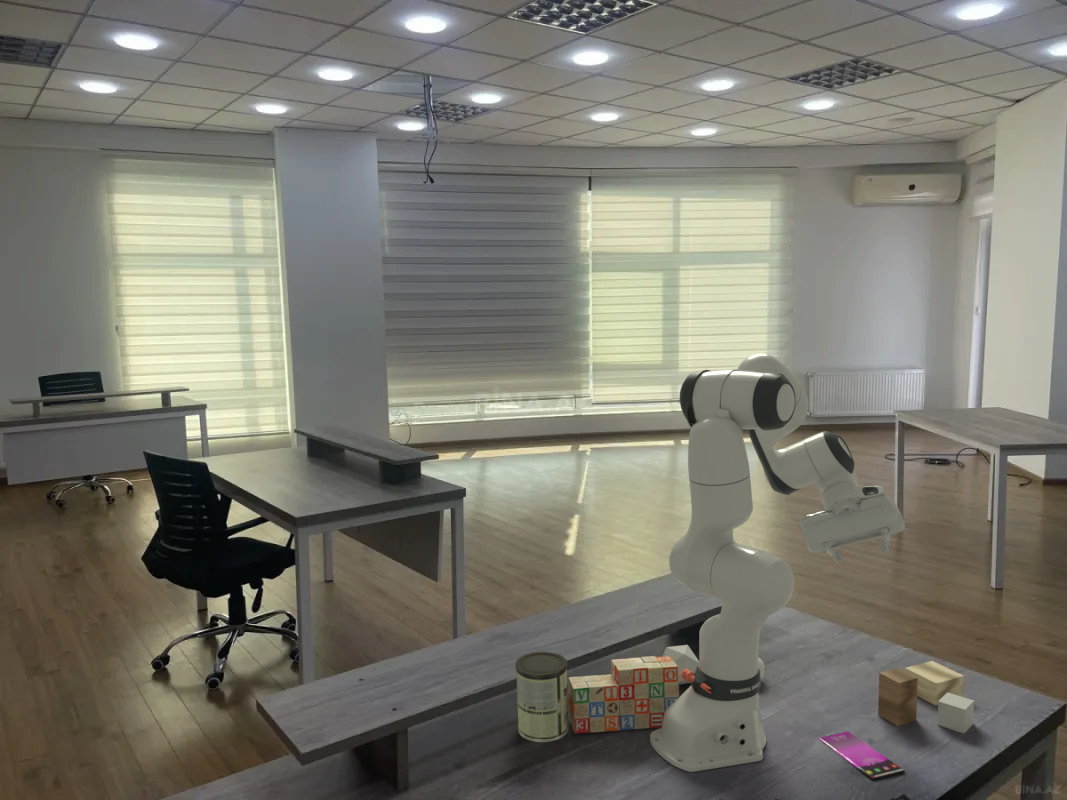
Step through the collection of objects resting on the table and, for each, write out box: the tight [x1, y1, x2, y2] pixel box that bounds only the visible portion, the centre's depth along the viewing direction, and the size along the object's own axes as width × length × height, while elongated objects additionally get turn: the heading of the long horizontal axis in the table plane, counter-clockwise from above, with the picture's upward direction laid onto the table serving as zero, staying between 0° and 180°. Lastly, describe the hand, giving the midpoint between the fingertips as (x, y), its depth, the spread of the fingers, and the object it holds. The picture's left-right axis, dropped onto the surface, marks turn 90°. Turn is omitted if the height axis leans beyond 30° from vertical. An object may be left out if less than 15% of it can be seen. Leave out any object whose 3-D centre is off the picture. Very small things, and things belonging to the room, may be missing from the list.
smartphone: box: [818, 731, 905, 782], centre depth 153 cm, size 7×15×1 cm, turn 18°
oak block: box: [904, 660, 965, 706], centre depth 175 cm, size 8×8×5 cm
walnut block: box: [877, 667, 918, 727], centre depth 165 cm, size 5×5×9 cm
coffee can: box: [515, 651, 570, 743], centre depth 164 cm, size 10×10×14 cm
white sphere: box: [758, 657, 766, 680], centre depth 184 cm, size 8×6×6 cm
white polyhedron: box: [661, 644, 699, 686], centre depth 183 cm, size 8×9×10 cm
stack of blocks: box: [568, 655, 680, 734], centre depth 165 cm, size 21×6×12 cm, turn 96°
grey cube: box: [936, 692, 975, 734], centre depth 162 cm, size 5×5×5 cm
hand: (861, 555), depth 169 cm, fingers open, 8 cm apart
